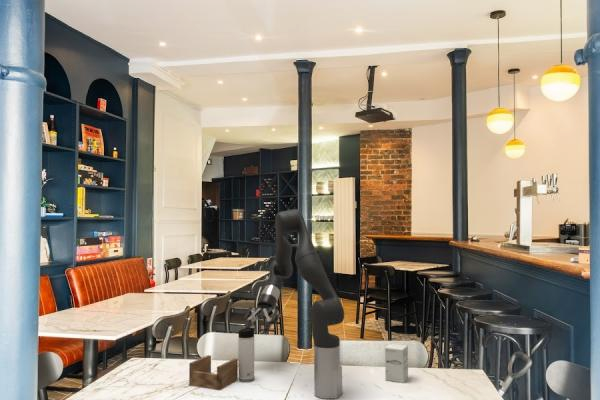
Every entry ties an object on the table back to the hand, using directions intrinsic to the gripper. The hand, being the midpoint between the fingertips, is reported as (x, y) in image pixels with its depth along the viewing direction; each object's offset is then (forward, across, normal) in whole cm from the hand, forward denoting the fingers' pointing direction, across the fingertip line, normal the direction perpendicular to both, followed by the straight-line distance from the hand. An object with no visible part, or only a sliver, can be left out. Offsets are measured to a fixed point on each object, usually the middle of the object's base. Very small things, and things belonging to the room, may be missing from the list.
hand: (255, 330), depth 188 cm
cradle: (+23, -10, +2) cm, 25 cm away
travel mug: (+18, 0, +8) cm, 19 cm away
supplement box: (+1, +54, +24) cm, 59 cm away
